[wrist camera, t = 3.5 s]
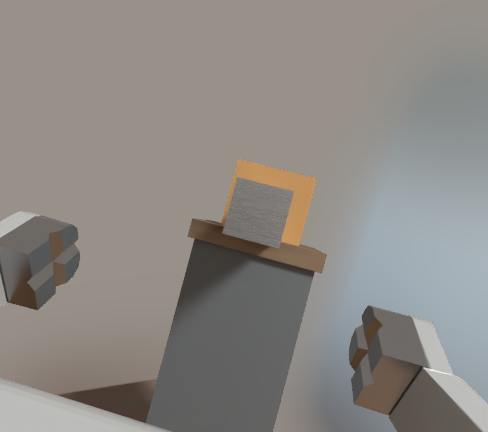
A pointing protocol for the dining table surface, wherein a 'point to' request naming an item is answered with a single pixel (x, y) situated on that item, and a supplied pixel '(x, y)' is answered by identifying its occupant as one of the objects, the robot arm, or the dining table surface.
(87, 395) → the dining table surface
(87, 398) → the dining table surface
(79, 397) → the dining table surface
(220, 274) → the cabinet stand
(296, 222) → the bar
